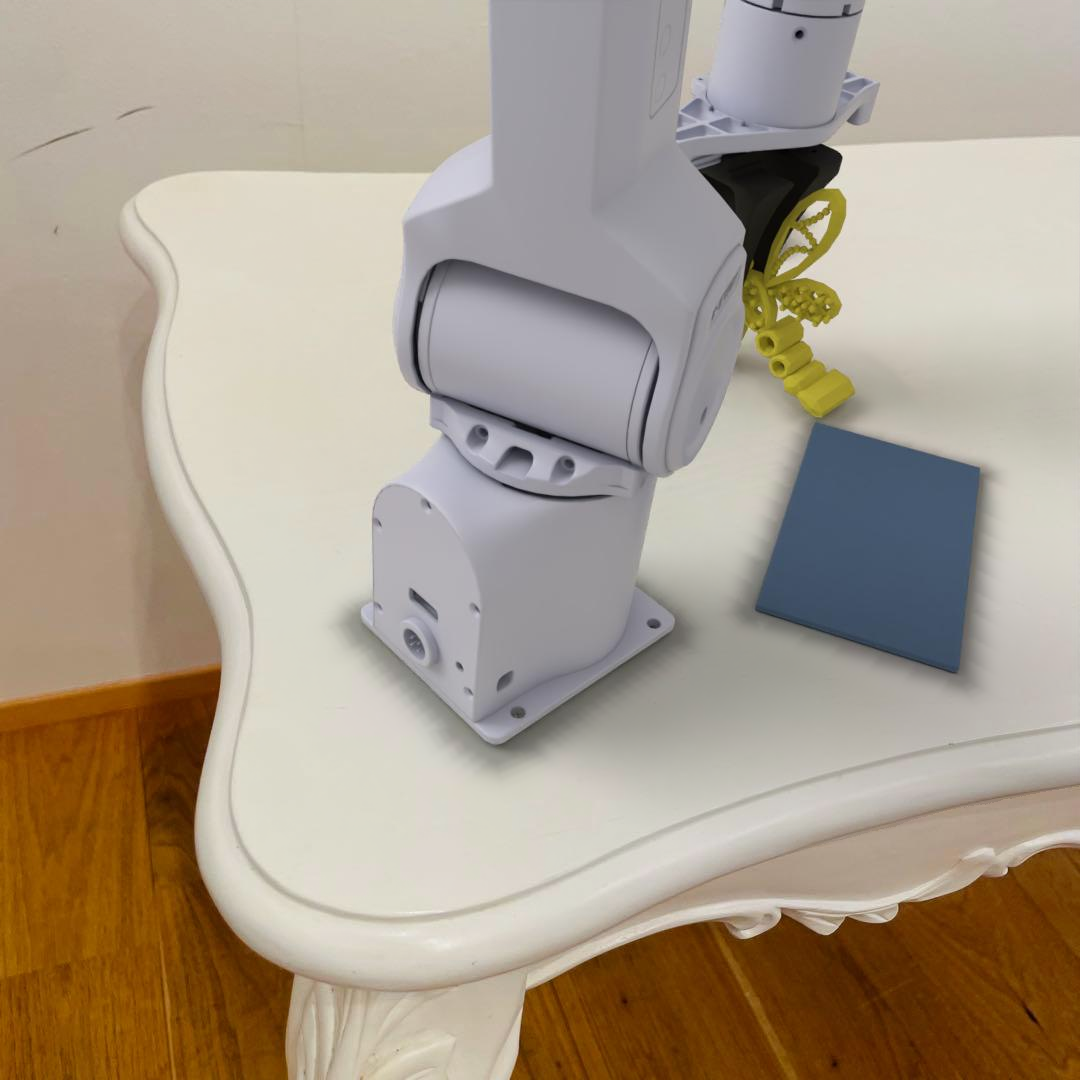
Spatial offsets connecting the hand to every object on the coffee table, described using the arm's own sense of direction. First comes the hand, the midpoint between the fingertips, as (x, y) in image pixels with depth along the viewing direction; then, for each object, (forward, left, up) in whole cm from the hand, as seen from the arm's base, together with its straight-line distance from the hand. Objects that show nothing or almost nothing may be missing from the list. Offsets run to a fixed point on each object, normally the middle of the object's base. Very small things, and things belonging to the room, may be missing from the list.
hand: (728, 289), depth 55 cm
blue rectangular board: (-4, -13, -4) cm, 15 cm away
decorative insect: (+1, -1, -4) cm, 4 cm away
